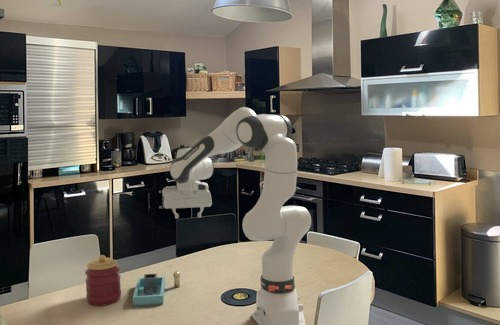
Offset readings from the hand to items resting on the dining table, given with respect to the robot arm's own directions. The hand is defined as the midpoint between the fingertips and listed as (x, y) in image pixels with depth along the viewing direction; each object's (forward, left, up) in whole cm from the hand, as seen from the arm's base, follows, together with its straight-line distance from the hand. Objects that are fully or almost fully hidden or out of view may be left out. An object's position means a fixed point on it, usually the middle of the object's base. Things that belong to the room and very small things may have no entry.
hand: (188, 217), depth 193 cm
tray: (-13, +16, -28) cm, 34 cm away
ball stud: (-6, +5, -28) cm, 29 cm away
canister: (-14, +33, -28) cm, 46 cm away
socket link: (-13, +16, -27) cm, 34 cm away
